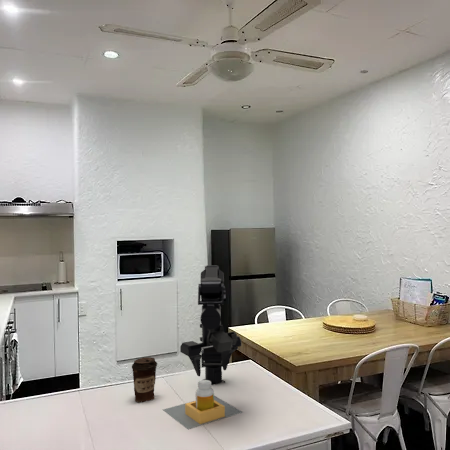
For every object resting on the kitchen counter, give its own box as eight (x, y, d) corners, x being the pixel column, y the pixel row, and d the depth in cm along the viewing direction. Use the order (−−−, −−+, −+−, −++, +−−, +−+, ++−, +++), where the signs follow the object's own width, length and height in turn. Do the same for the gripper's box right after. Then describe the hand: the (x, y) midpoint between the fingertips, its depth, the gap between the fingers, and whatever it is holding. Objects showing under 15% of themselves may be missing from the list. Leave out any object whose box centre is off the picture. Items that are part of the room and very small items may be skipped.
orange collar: (185, 413, 124) (185, 403, 124) (209, 406, 129) (209, 397, 129) (200, 424, 117) (199, 413, 117) (224, 416, 122) (224, 406, 122)
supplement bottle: (217, 416, 122) (216, 383, 122) (199, 420, 119) (199, 386, 120) (209, 410, 127) (209, 377, 127) (193, 413, 124) (192, 380, 124)
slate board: (162, 411, 127) (162, 409, 127) (214, 397, 138) (214, 395, 138) (188, 431, 114) (188, 429, 114) (243, 414, 125) (243, 412, 125)
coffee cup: (160, 402, 134) (160, 362, 135) (134, 406, 131) (134, 365, 132) (154, 393, 142) (154, 355, 143) (130, 396, 139) (129, 357, 140)
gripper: (198, 331, 114) (198, 388, 114) (252, 322, 124) (252, 374, 124) (179, 323, 123) (179, 376, 123) (230, 315, 134) (231, 364, 133)
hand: (211, 373), depth 126 cm, fingers open, 9 cm apart
